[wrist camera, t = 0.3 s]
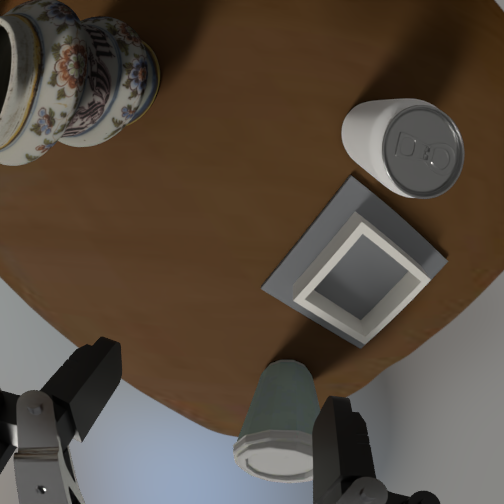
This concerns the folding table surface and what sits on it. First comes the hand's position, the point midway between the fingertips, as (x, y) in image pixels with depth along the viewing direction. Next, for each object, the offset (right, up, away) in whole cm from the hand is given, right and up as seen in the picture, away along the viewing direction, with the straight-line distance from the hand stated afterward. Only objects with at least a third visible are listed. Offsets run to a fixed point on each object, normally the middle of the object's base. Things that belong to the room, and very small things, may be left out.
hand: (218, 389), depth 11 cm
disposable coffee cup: (+6, -11, +29) cm, 32 cm away
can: (+12, +16, +15) cm, 25 cm away
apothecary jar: (-12, +22, +15) cm, 30 cm away
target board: (+13, +3, +21) cm, 25 cm away
